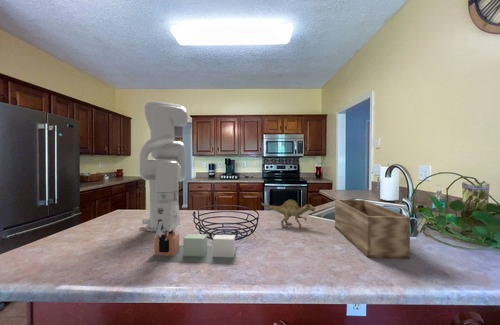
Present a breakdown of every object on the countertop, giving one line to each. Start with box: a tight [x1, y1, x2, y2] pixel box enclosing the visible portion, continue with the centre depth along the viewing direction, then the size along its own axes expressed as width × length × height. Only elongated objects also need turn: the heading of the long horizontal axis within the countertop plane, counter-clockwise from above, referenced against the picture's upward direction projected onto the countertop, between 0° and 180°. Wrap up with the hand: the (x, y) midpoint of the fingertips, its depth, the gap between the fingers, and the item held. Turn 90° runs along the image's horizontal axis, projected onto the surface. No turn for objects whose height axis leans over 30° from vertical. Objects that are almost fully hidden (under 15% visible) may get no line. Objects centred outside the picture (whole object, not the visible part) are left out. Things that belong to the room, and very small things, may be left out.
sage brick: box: [182, 233, 208, 257], centre depth 74 cm, size 7×4×6 cm, turn 87°
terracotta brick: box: [153, 233, 180, 256], centre depth 74 cm, size 7×4×6 cm, turn 87°
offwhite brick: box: [212, 234, 236, 257], centre depth 73 cm, size 7×4×6 cm, turn 87°
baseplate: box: [146, 244, 239, 265], centre depth 74 cm, size 28×13×1 cm, turn 87°
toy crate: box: [334, 199, 411, 260], centre depth 89 cm, size 14×32×14 cm, turn 177°
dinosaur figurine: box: [260, 199, 316, 229], centre depth 108 cm, size 8×26×13 cm, turn 80°
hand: (167, 248), depth 74 cm, fingers closed on terracotta brick, 3 cm apart
